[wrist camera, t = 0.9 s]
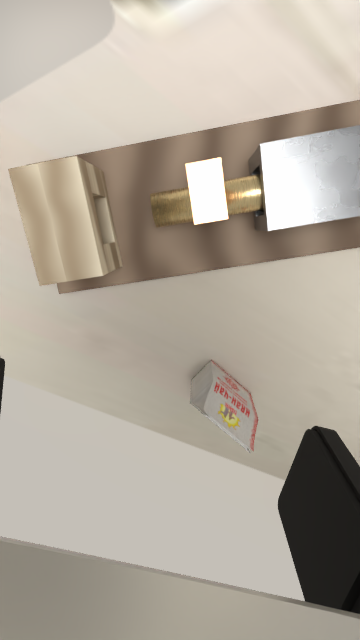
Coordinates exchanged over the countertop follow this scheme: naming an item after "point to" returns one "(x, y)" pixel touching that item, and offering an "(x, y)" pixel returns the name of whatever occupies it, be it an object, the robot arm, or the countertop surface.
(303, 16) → the countertop surface
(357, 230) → the walnut base board
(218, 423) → the white angular box
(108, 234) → the ash socket block
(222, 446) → the countertop surface
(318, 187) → the galvanized steel sleeve
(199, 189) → the brass tube
